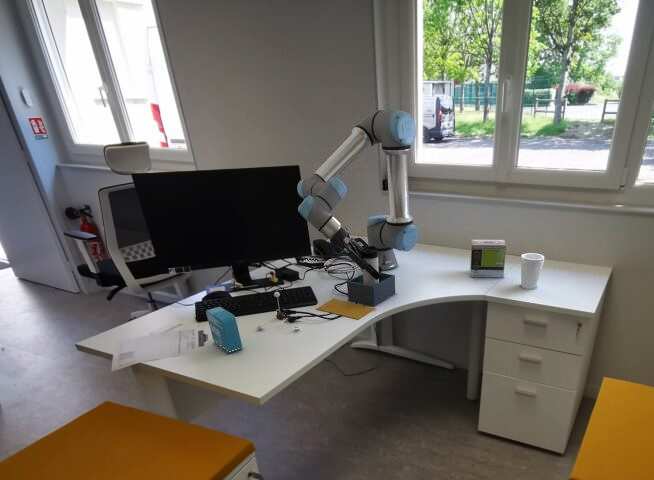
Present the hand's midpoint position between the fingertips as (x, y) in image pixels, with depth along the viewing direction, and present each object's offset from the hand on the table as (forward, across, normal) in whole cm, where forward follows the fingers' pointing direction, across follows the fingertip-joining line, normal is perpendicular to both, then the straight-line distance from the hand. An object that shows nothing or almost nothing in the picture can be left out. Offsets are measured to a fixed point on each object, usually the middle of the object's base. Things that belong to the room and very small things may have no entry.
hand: (379, 274), depth 180 cm
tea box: (+39, -29, +26) cm, 55 cm away
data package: (-26, +44, -40) cm, 65 cm away
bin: (+4, 0, -9) cm, 10 cm away
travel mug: (+4, 0, -9) cm, 10 cm away
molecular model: (-18, +29, -31) cm, 46 cm away
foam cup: (+51, -14, +38) cm, 65 cm away
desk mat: (-2, +13, -16) cm, 20 cm away
